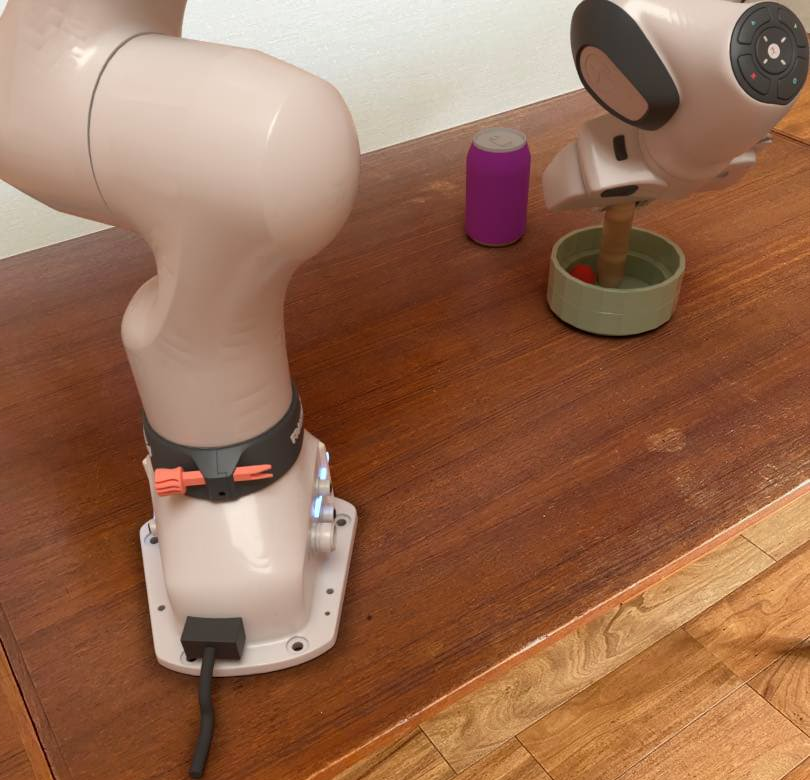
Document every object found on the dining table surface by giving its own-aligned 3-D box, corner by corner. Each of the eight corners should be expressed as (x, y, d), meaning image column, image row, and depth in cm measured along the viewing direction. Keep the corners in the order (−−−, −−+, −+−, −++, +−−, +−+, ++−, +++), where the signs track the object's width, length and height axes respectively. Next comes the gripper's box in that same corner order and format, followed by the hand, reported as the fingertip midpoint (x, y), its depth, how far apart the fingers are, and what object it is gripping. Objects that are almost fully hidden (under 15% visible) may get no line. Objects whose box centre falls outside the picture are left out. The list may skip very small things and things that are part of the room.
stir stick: (625, 286, 97) (650, 141, 85) (599, 288, 97) (621, 143, 85) (618, 273, 99) (642, 129, 87) (592, 275, 99) (612, 131, 87)
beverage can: (452, 233, 110) (453, 136, 101) (497, 214, 113) (502, 119, 104) (492, 256, 106) (496, 158, 97) (538, 236, 109) (546, 138, 100)
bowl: (691, 335, 93) (704, 285, 89) (562, 346, 93) (568, 297, 88) (652, 267, 103) (662, 219, 99) (535, 277, 102) (539, 229, 98)
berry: (603, 285, 97) (589, 265, 95) (580, 302, 98) (566, 282, 96) (596, 275, 99) (583, 255, 97) (574, 291, 100) (560, 271, 98)
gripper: (776, 97, 79) (704, 159, 93) (564, 123, 77) (522, 184, 90) (787, 165, 80) (714, 218, 93) (576, 194, 77) (532, 244, 91)
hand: (618, 201), depth 92 cm, fingers closed on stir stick, 3 cm apart
